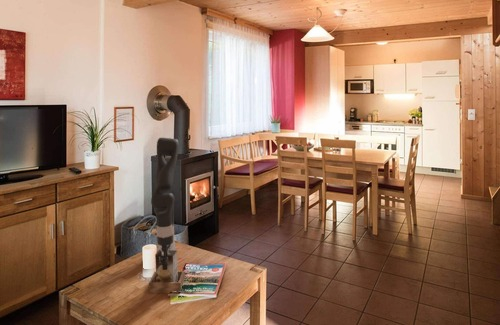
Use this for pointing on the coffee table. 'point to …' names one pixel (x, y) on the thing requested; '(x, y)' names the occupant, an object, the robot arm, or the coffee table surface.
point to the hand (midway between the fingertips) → (166, 266)
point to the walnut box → (166, 284)
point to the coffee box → (172, 269)
